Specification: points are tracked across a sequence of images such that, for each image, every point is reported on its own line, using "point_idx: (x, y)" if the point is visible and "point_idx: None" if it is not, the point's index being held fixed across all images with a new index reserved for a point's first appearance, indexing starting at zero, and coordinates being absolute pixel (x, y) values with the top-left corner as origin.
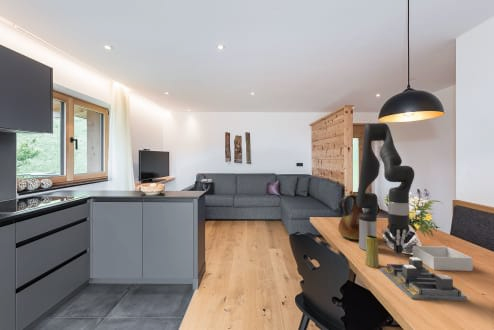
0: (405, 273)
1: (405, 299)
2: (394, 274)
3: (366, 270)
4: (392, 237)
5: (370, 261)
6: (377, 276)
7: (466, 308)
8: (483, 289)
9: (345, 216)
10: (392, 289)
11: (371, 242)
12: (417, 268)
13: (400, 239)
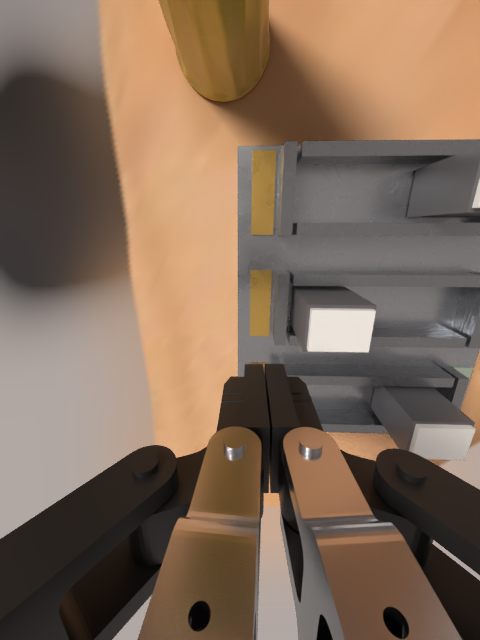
0: (297, 324)
1: (214, 409)
2: (274, 244)
3: (150, 153)
4: (182, 521)
5: (190, 64)
6: (186, 232)
7: (391, 446)
8: None
9: None
10: (201, 349)
11: None
12: (454, 215)
13: (297, 610)
